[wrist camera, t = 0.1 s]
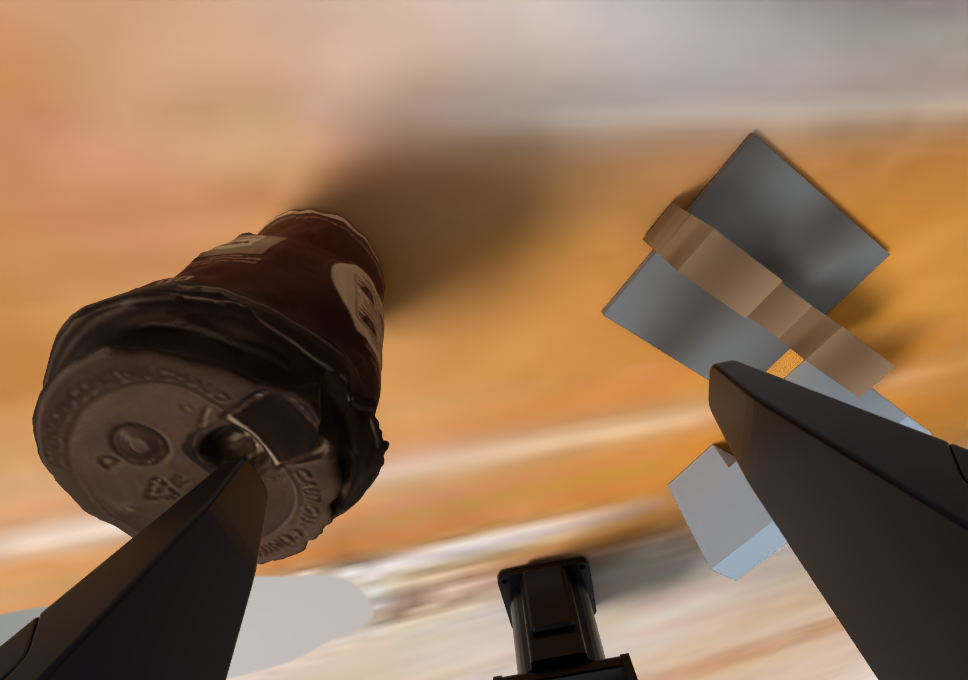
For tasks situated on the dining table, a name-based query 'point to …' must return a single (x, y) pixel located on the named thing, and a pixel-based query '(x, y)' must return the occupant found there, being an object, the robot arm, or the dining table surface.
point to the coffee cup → (227, 382)
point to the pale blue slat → (732, 502)
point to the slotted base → (753, 275)
